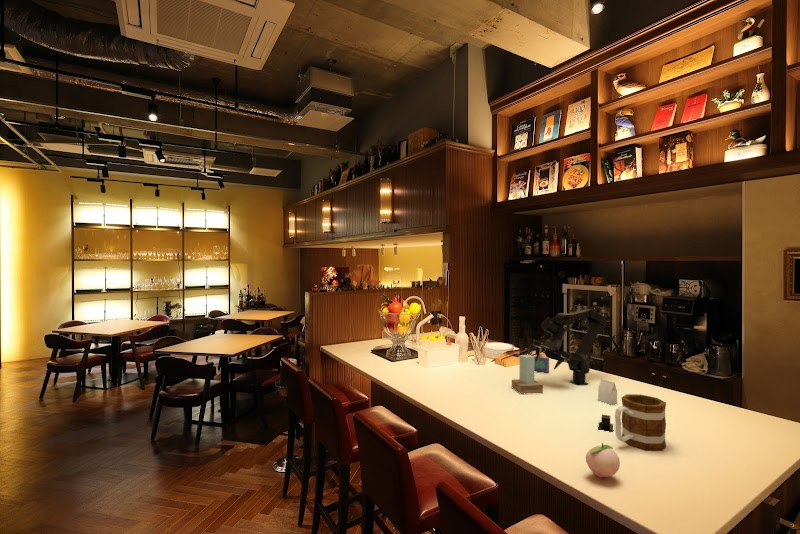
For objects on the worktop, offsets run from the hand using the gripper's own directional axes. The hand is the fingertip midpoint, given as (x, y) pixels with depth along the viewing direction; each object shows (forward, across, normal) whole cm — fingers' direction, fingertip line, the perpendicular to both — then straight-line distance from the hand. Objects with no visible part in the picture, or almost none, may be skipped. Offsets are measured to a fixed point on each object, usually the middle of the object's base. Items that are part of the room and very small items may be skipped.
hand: (545, 365), depth 207 cm
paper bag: (+5, +32, -5) cm, 32 cm away
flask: (+4, -8, +32) cm, 33 cm away
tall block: (+12, -4, -7) cm, 14 cm away
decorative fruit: (+27, +42, -75) cm, 90 cm away
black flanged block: (+14, +36, -35) cm, 52 cm away
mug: (+14, +47, -46) cm, 67 cm away
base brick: (+15, -2, -6) cm, 16 cm away
